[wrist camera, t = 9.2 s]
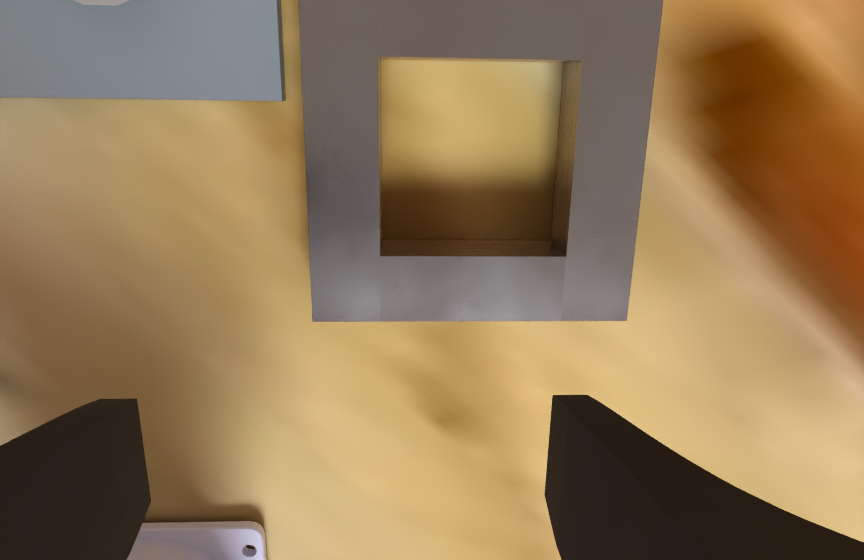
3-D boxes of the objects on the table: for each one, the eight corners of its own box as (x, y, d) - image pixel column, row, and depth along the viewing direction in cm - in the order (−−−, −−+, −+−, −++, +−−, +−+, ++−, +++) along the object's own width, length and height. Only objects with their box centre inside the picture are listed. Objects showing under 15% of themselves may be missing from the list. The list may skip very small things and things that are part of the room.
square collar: (606, 298, 21) (626, 320, 19) (320, 299, 21) (312, 321, 19) (637, -10, 18) (665, -21, 16) (308, -18, 18) (297, -30, 16)
